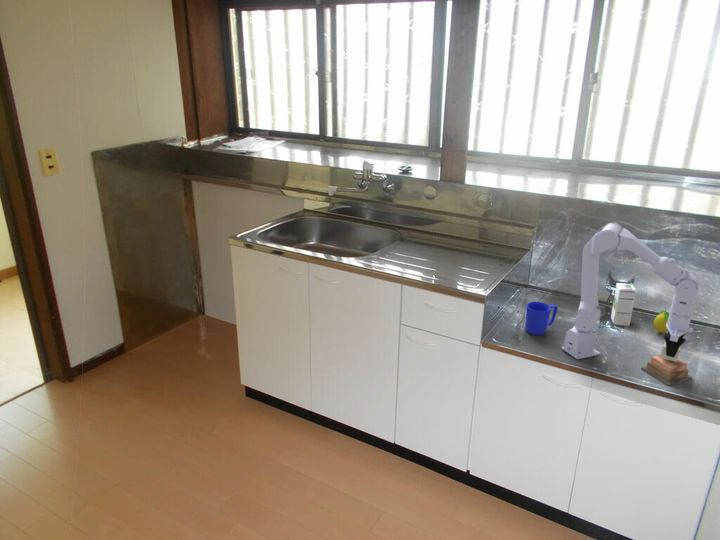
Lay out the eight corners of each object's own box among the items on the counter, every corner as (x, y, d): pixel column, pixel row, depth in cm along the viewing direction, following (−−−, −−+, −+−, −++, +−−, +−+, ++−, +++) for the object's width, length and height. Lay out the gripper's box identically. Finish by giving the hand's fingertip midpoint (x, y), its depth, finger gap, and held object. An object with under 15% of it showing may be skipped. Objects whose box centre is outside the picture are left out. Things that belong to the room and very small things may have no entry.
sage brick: (677, 362, 167) (679, 350, 166) (660, 357, 169) (663, 346, 168) (678, 355, 171) (681, 344, 169) (662, 351, 173) (665, 340, 171)
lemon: (668, 339, 193) (674, 313, 189) (649, 334, 196) (655, 309, 192) (671, 332, 198) (677, 306, 194) (653, 327, 201) (659, 302, 197)
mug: (561, 333, 197) (565, 307, 193) (533, 339, 193) (536, 313, 189) (545, 323, 204) (549, 298, 200) (518, 328, 200) (521, 303, 196)
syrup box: (630, 326, 202) (637, 289, 196) (612, 324, 203) (619, 288, 197) (626, 319, 207) (633, 283, 202) (609, 317, 208) (616, 282, 203)
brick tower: (667, 385, 166) (671, 371, 164) (640, 369, 175) (644, 355, 173) (691, 379, 170) (695, 365, 168) (664, 363, 178) (667, 349, 176)
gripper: (694, 325, 157) (683, 367, 162) (698, 307, 168) (688, 346, 173) (666, 319, 160) (656, 359, 165) (672, 301, 172) (663, 340, 177)
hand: (671, 352), depth 169 cm, fingers closed on sage brick, 4 cm apart
